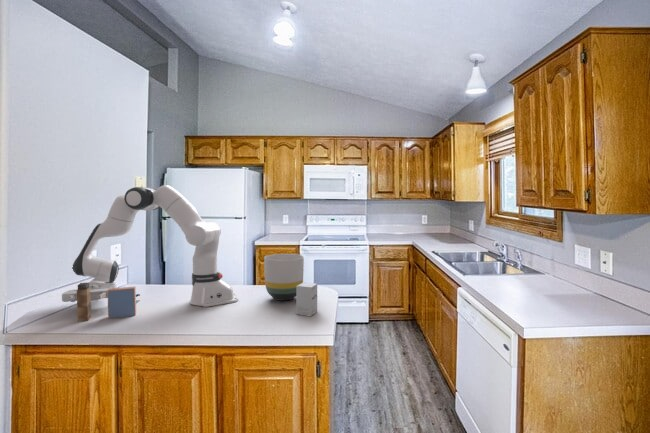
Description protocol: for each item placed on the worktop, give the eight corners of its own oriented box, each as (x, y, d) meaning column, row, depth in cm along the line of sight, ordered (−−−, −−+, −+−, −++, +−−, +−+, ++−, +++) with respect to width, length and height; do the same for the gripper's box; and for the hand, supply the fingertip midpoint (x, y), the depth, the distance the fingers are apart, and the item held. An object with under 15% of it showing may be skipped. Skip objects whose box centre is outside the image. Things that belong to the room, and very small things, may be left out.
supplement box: (311, 316, 147) (311, 287, 146) (295, 314, 149) (295, 285, 149) (317, 311, 154) (317, 283, 153) (302, 309, 156) (302, 281, 156)
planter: (298, 292, 185) (298, 252, 184) (308, 302, 166) (308, 258, 165) (262, 295, 179) (261, 254, 178) (267, 306, 160) (267, 261, 159)
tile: (136, 313, 151) (135, 286, 150) (135, 315, 148) (134, 288, 147) (109, 316, 147) (108, 288, 146) (108, 318, 144) (107, 290, 143)
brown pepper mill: (91, 316, 146) (89, 282, 146) (87, 320, 142) (86, 284, 141) (81, 317, 145) (80, 282, 144) (77, 321, 140) (76, 285, 140)
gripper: (67, 286, 154) (55, 293, 142) (119, 281, 162) (113, 289, 149) (67, 299, 155) (56, 309, 142) (119, 295, 162) (113, 303, 149)
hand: (85, 298), depth 145 cm, fingers open, 8 cm apart
